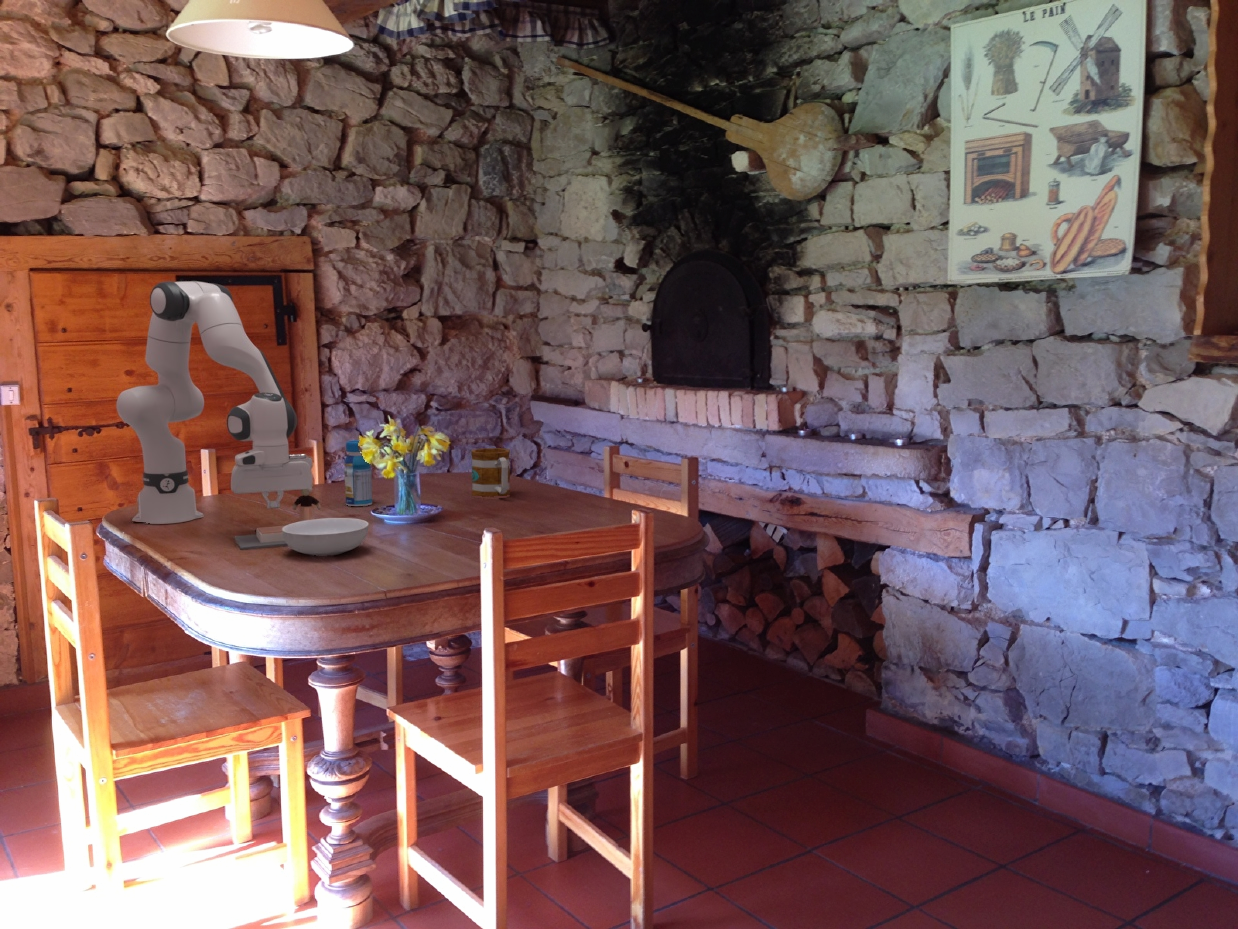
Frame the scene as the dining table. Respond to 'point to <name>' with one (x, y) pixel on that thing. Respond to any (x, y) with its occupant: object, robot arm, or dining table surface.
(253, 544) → the mat
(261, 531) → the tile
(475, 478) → the mug
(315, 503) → the grandmother figurine
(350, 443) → the beverage bottle
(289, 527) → the serving bowl
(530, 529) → the dining table surface
